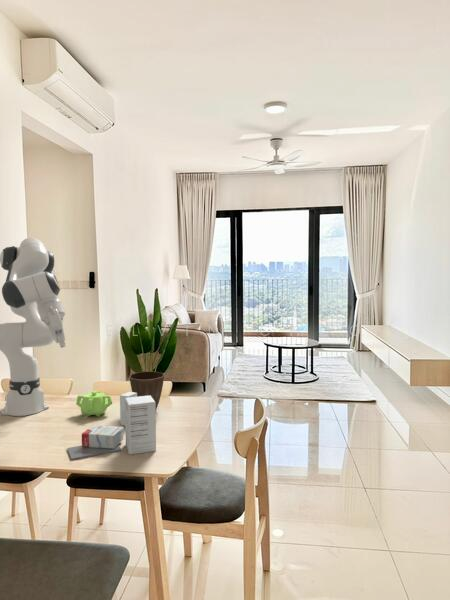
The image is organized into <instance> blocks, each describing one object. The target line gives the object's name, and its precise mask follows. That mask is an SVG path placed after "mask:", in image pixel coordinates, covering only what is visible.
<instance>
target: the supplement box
mask: <svg viewBox="0 0 450 600" xmlns="http://www.w3.org/2000/svg"><path fill="white" fill-rule="evenodd" d="M156 413H157V409H156V402H155V401H154V400H153V398H152V397H151V396H139V397H129V398H125V416H126V422H125V425H124V427H125V429H124V430H125V448H126V450H127V453H128V455H135V454H143V453H150V452H156V451H157V431H156V430H157V422H156V421H157V420H156V418H157V414H156Z"/></svg>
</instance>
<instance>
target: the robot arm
mask: <svg viewBox="0 0 450 600" xmlns="http://www.w3.org/2000/svg"><path fill="white" fill-rule="evenodd" d="M0 265H1V268H2V269H3V271H4V270H5V271H7V274H6V275H7V276H6V278H5V282H4V283H3V285H2V287H1V294H2V295H1V296H2V298H3V301H4V302H5V304H6V305H7V306H8V307H10V309H11V312H12V313H13V314H15V315H17V316H19V317H21V318H23V319H24V320H25V321H23V322H22V321H21V322H5V323H0V351H1V352H2V354H4V355H5V357H6V358H7V362H8V365H9V373H10V374H9V375H10V376H9V377H10V380H9V384H8V385H9V387H8V388H9V391H8V392H7V393H6V394H5V398H4V401H5V404H4V407H3V409H2V410H1V412H0V415H5V416H6V415H7V416H12V417H13V416H14V417H21V416H23V417H24V416H29V415H34V414H37V413H41V412H42V411H44V410H48V409H49V408H50V406H49V405H48V404H47V403H45V395H44V394H45V393H44V390H43V388H41V387H40V385H41V380H40V377H39V362H38V359H37V358H36V357H35V356H33V355H30V354H27V353H25V352H24V350H23V349H25V348H26V349H27V348H41V347H45V346H50V345H52V344H53V343H54V342H55V343H56V344H59V346H60V347H59V348H61V349H63V348H65V347H66V342H65V341H66V336H65V332H64V327H63V326H64V324H63V322H64V317H65V316H66V313H65V310H64V309H65V308H64V307H63V303H62V301H61V300H60V298H59V293H60V291H61V289H60V287H59V284H58V283H59V282H58V281H57V277H56V275H55V274H53V273H52V272H53V270H54V268H55V266H56V259H55V255H54V254H53V252H51V251H48V250H47V247H46V246H45V244H43V242H42V241H41V240H40V239H38V238H36V237H27V238H24V239H23V240H22V241H21V242H20V244H19V246H18V247H17V246H14V245H12V246H7V247H4V248H3V249H2V251H1V252H0Z"/></svg>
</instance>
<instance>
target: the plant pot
mask: <svg viewBox="0 0 450 600" xmlns="http://www.w3.org/2000/svg"><path fill="white" fill-rule="evenodd" d="M128 377H129V383H130V388H131V392H135V393H137V397H139V396H151V397H152V398H153V400H154V401H155V402H156V410H157V409H158V406H159V403H160V400H161V395H162V392H163V387H164V378H165V373H163V372H159V371H139V372H134V373H132V374H130V375H129V376H128Z"/></svg>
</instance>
